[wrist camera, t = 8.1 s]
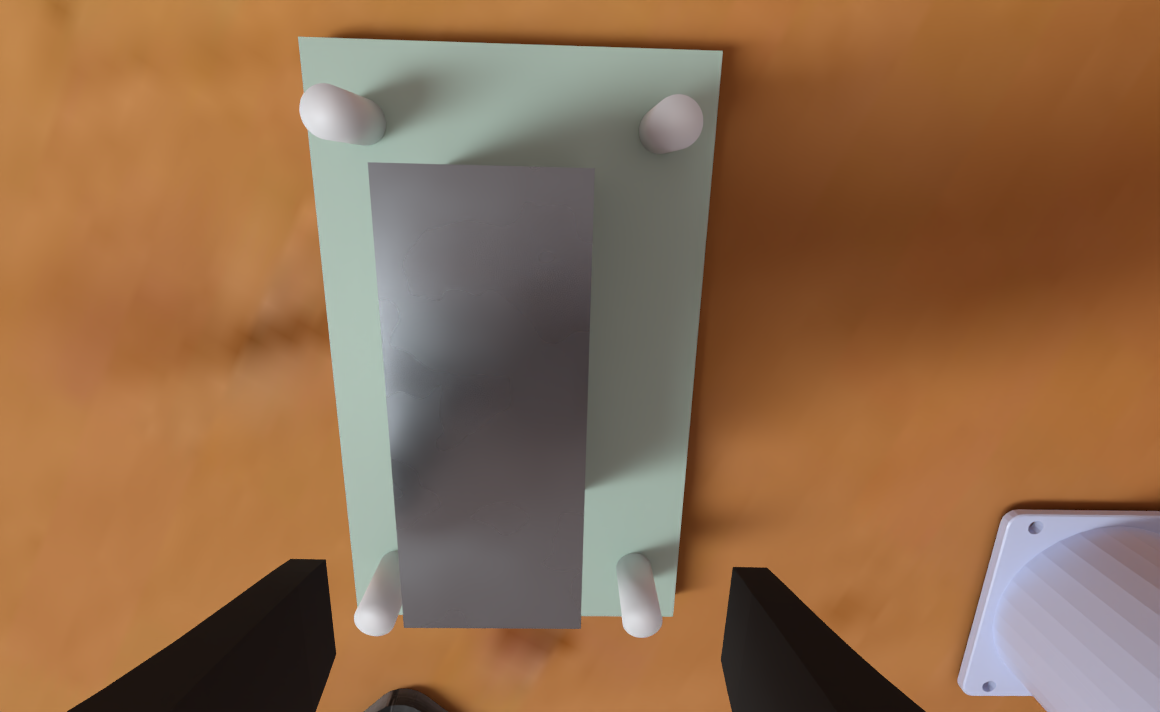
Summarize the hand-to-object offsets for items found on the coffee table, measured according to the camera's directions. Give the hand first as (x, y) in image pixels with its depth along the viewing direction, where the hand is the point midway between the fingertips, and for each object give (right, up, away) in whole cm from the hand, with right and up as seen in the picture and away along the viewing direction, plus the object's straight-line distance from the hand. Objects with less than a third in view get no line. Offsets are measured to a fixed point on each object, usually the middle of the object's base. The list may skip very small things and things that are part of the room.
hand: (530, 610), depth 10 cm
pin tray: (-1, +4, +8) cm, 9 cm away
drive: (-1, +5, +7) cm, 9 cm away
